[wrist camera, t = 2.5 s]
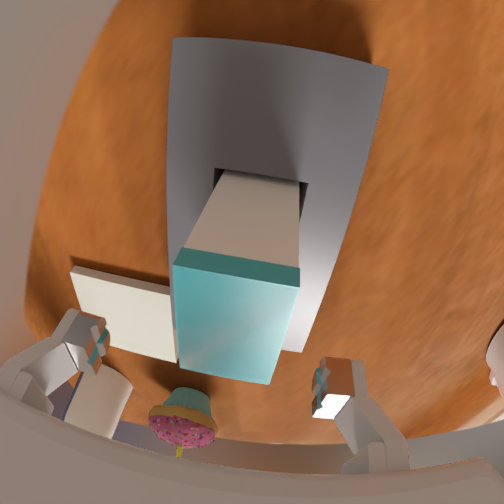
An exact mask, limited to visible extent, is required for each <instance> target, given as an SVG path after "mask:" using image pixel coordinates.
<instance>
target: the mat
mask: <svg viewBox="0 0 504 504" xmlns="http://www.w3.org/2000/svg"><path fill="white" fill-rule="evenodd" d="M70 275H71V278H72V281H73V285H74V288H75V291H76V294H77V297H78V300H79V303H80V306H81V309H82V311H83V312H87V313H90V314H93V315H97V316H100V317H104V318H105V320H106V323H107V324H106V326H105V328H106V329H107V330H108V331H109V333H110V345H111V346H114V347H117V348H121V349H124V350H128V351H131V352H135V353H138V354H142V355H146V356H150V357H153V358H157V359H161V360H165V361H169V362H174V363H176V362H177V359H178V356H179V353H178V342H177V330H176V329H173V320H172V307H171V294H170V287H169V286H164V285H160V284H155V283H150V282H146V281H141V280H136V279H132V278H127V277H123V276H119V275H114V274H110V273H105V272H101V271H97V270H93V269H89V268H84V267H80V266H76V265H75V266H74V267H73V268H72V270H71V271H70Z"/></svg>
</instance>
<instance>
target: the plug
mask: <svg viewBox="0 0 504 504" xmlns="http://www.w3.org/2000/svg"><path fill="white" fill-rule="evenodd" d="M173 284H174V301H175V316H176V329H177V342H178V353H179V363H180V368H183V369H187V370H192V371H196V372H201V373H206V374H211V375H215V376H221V377H226V378H231V379H237V380H242V381H248V382H254V383H260V384H267V385H269V384H270V381H271V378H272V375H273V372H274V369H275V366H276V363H277V360H278V357H279V354H280V350H281V347H282V344H283V341H284V338H285V335H286V332H287V329H288V325H289V322H290V319H291V316H292V312H293V309H294V306H295V303H296V299H297V296H298V293H299V289H300V268H299V181H295V180H289V179H284V178H278V177H272V176H266V175H260V174H254V173H248V172H241V171H235V170H228V169H225V170H224V172H223V174H222V176H221V178H220V180H219V181H218V183H217V185H216V187H215V189H214V190H213V192H212V194H211V196H210V198H209V200H208V202H207V203H206V205H205V207H204V209H203V211H202V213H201V215H200V217H199V219H198V220H197V222H196V224H195V226H194V228H193V230H192V232H191V234H190V236H189V238H188V240H187V242H186V244H185V246H184V247H181V249H180V251H179V253H178V255H177V257H176V259H175V261H174V263H173Z"/></svg>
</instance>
